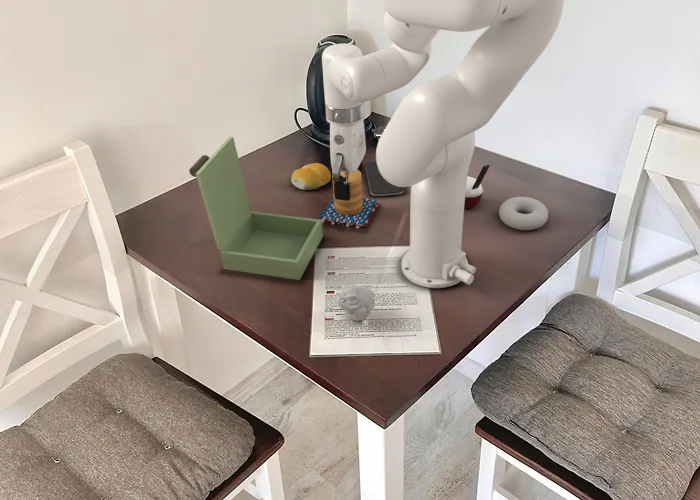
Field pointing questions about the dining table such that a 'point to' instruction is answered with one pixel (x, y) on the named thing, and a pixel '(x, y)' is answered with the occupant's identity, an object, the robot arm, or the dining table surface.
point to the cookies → (351, 195)
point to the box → (272, 245)
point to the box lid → (222, 190)
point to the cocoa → (474, 189)
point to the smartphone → (380, 182)
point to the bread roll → (311, 176)
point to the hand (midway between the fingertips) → (349, 187)
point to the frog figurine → (356, 301)
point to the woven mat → (358, 218)
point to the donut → (516, 220)
